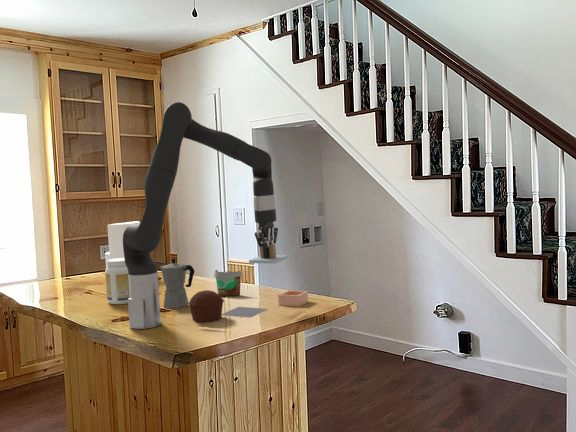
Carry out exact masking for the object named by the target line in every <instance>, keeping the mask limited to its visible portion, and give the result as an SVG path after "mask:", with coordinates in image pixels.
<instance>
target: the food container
mask: <svg viewBox="0 0 576 432" xmlns="http://www.w3.org/2000/svg"><path fill="white" fill-rule="evenodd" d="M242 276H243V274H242V271H241V270H238V271H236V270H235V271H229V270H228V271H227V270H226V271H219V269H215V270H214V273H213V277H214V278H215V281H216V282H215V283H216V288H217V294H219V295H220V296H221V297H222V298H234V297H238V296H240V295H241V279H242V278H241V277H242Z"/></svg>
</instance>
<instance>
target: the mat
mask: <svg viewBox="0 0 576 432" xmlns="http://www.w3.org/2000/svg"><path fill="white" fill-rule="evenodd" d="M267 310H268V308H263V307H262V308H260V307H245V306H237V307H235V308H232V309H231V310H228V311H226V312H222V315H221V316H228V317H229V316H230V317H239V318H240V317H242V318H253V317H254V316H257V315H258V314H260V313H263V312H264V311H267Z"/></svg>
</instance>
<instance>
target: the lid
mask: <svg viewBox="0 0 576 432" xmlns="http://www.w3.org/2000/svg"><path fill="white" fill-rule="evenodd" d="M269 253H270V258H269V259H264V257H263V248H262V247H259V254H260V255H259V256H257V257H254V258H252V259H249V260H248V263H249V264H277V263H279V262H283V261H284V260H286V259H288V258H289V257H288V255H282V254H279V255H278V254H277V250H276V244H274V245H269Z"/></svg>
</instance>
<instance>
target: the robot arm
mask: <svg viewBox="0 0 576 432" xmlns="http://www.w3.org/2000/svg"><path fill="white" fill-rule="evenodd" d="M183 139H187V140H190V141H194V142H196V143H198V144H200V145H204V146H207V147H209V148H211V149H212V150H215V151H217V152H219V153H221V154H223V155H225V156H227V157H228V158H232V159H234V160H235V161H239V162H241V163H243V164H244V165H247V166H248V167H250V168H251V170H252V178H253V179H252V180H253V182H252V189H253V192H252V193H253V211H254V222H255V223H256V224H258V227H257V228H258V231H256V232H254V237H255V239H256V242H257V244H258V247H259V248H260V247H262V248H263V257H264V259H269V258H270V253H269V245H276V244H277V240H278V232H279V228H278V227H275V224H274V223H275V222H277V210H276V209H277V207H276V199H275V191H274V183H273V182H274V181H273V177H272V176H273V175H272V173H273V171H272V161H273V160H272V156H271V155H270V153H268V151H266V150H263V149H261V148H259V147H256V146H254V145H251V144H249V143H247V142H246V141H244V140H242V139H241V138H239V137H236V136H234V135H233V134H230V133H227V132H225V131H222V130H217V129H213V128H210V127H207V126H205V125H202V124H201V123H199V122H197V121H196V120H194V119H193V118H192V113H191V110H190V108H189V106H188V105H187V104H185V103H184V102H180V101H177V102H176V101H175V102H173V103H170V104H169V105H168V106H167V107H166V109H165V111H164V112H163V118H162V126H161V129H160V135H159V138H158V141H157V144H156V146H155V149H154V150H153V153H152V156H151V159H150V162H149V165H148V168H147V171H146V175H145V178H144V185H143V186H144V187H143V188H144V197H145V207H144V208H145V209H144V212H143V215H142V217H141V220H140V224H138V223H136V224H131V225H129V226H128V227H127V228H126V229H125V231H124V233H123V250H124V259H125V264H126V267H127V269H128V276H129V292H130V298H129V299H128V303H127V307H128V308H127V309H128V321H129V322H128V323H129V328H130V329H138V330H146V329H149V328H150V329H151V328H155V327H158V326H160V325H161V324H162V319H161V306H160V305H161V304H160V291H159V289H160V286H159V275H158V274H159V273H158V264H157V262H156V261H154V259H153V258H152V256H151V254H150V253H152V252H154V251H155V250H156V249H157V247H158V246H159V244H160V241H161V238H162V231H163V226H164V223H165V222H164V221H165V216H166V212H167V208H168V204H169V201H170V196H171V193H172V190H173V187H174V183H175V180H176V177H177V173H178V169H179V168H178V167H179V164H180V163H179V162H180V155H181V146H182V142H183Z"/></svg>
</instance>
